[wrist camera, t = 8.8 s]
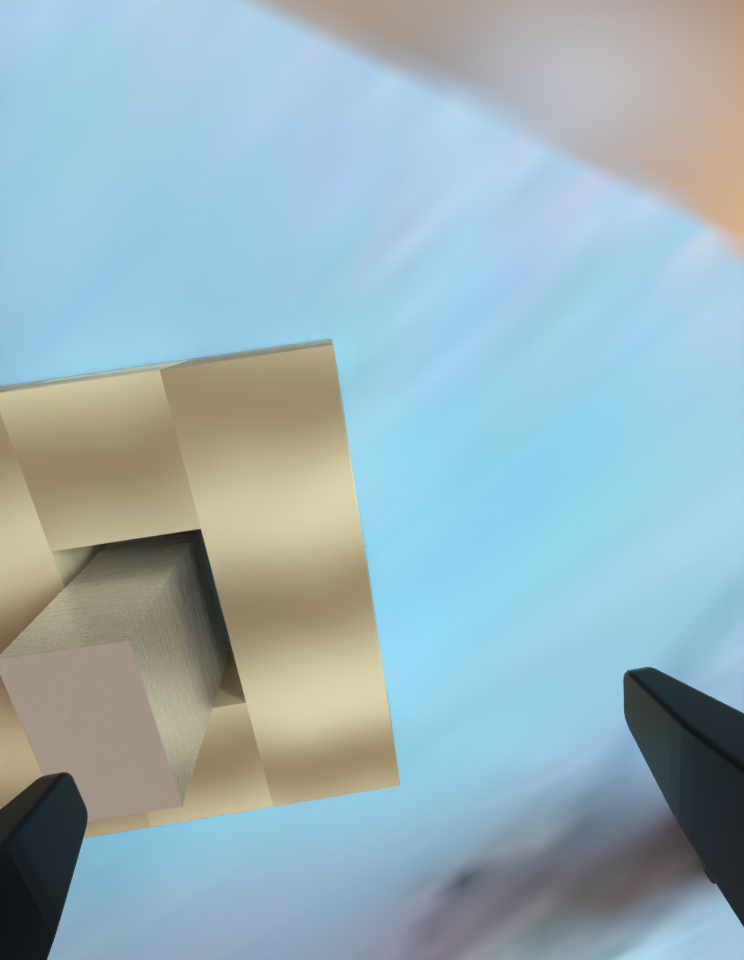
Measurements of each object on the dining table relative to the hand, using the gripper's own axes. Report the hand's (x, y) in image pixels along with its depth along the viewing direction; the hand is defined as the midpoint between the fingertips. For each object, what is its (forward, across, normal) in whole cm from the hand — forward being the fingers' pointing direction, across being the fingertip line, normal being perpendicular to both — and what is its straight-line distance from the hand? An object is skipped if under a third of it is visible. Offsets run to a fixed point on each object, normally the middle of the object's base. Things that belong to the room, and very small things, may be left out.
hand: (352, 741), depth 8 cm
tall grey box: (+12, +7, +2) cm, 14 cm away
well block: (+12, +7, +2) cm, 13 cm away
